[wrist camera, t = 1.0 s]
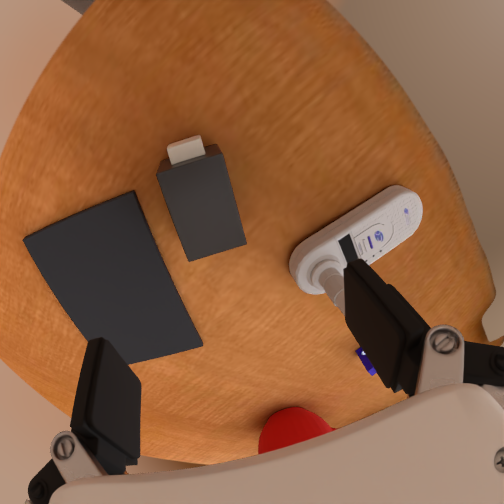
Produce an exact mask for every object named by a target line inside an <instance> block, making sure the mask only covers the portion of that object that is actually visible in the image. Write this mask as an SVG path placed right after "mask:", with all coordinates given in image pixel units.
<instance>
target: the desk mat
mask: <svg viewBox="0 0 504 504" xmlns="http://www.w3.org/2000/svg"><path fill="white" fill-rule="evenodd" d="M23 242H24V244H25V246H26V247H27V249H28V251H29V253H30V255H31V257H32V258H33V260H34V262H35V264H36V265H37V267H38V269H39V271H40V272H41V274H42V276H43V277H44V279H45V280H46V282H47V284H48V285H49V287H50V288H51V290H52V292H53V293H54V295H55V296H56V298H57V299H58V301H59V302H60V304H61V305H62V307H63V308H64V310H65V311H66V312H67V314H68V315H69V317H70V318H71V320H72V321H73V322H74V324H75V325H76V326H77V328H78V329H79V331H80V332H81V333H82V335H83V336H84V337H85V338H86V340H87V341H89V340H91V339H95V338H99V337H103V338H104V339H105V340H109V341H110V343H111V344H112V345H113V347H114V348H115V349H116V351H117V352H118V353H119V355H120V356H121V357H122V359H123V360H124V361H125V362H126V364H127V365H129V364H133V363H137V362H142V361H146V360H150V359H155V358H159V357H163V356H167V355H171V354H175V353H179V352H183V351H187V350H190V349H194V348H198V347H201V346H203V342H202V340H201V338H200V336H199V334H198V332H197V330H196V328H195V326H194V324H193V322H192V320H191V318H190V316H189V314H188V312H187V310H186V308H185V306H184V304H183V302H182V300H181V298H180V296H179V294H178V292H177V289H176V287H175V285H174V283H173V281H172V279H171V277H170V274H169V272H168V270H167V268H166V266H165V263H164V261H163V259H162V257H161V254H160V252H159V250H158V247H157V245H156V243H155V240H154V238H153V236H152V233H151V231H150V229H149V226H148V224H147V221H146V219H145V216H144V214H143V211H142V209H141V206H140V204H139V201H138V199H137V196H136V194H135V191H134V190H133V191H131V192H128V193H125V194H123V195H120V196H118V197H115V198H112V199H110V200H107V201H105V202H102V203H100V204H97V205H95V206H93V207H90V208H88V209H85V210H83V211H81V212H78V213H76V214H74V215H71V216H69V217H67V218H65V219H62V220H60V221H58V222H56V223H54V224H51V225H49V226H47V227H45V228H43V229H41V230H39V231H37V232H34V233H32V234H30V235H28V236H26V237H25V238H24V239H23Z"/></svg>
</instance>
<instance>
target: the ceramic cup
mask: <svg viewBox="0 0 504 504" xmlns="http://www.w3.org/2000/svg"><path fill="white" fill-rule="evenodd" d="M334 430H337V429H336V428H330V426H329V425H328V424H327V423H326V422H325V421H324V420H323V419H322V418H321V417H319V416H318V415H316V414H314V413H312V412H310V411H308V410H305V409H303V408H301V407H292V408H287V409H283V410H281V411H278V412H276V413H275V414H273V415H272V416H270V417H269V419H268V421H267V423H266V424H265V426H264V428H263V430H262V432H261V435H260V438H259V445H258V454H262V453H266V452H270V451H274V450H277V449H281V448H284V447H287V446H290V445H294V444H297V443H300V442H303V441H306V440H309V439H312V438H315V437H318V436H321V435H323V434H326V433H329V432H331V431H334Z"/></svg>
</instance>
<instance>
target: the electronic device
mask: <svg viewBox="0 0 504 504" xmlns="http://www.w3.org/2000/svg"><path fill="white" fill-rule="evenodd" d="M422 212H423V209H422V203H421V200H420V198H419V196H418V195H417V194H416V193H415V192H413V191H411V190H409V189H407V188H405V187H403V186H400V185H394V186H390V187H388V188H386V189H385V190H383V191H382V192H380V193H378V194H377V195H375V196H374V197H372V198H371V199H369V200H367V201H366V202H364V203H363V204H361V205H360V206H358V207H356V208H355V209H353V210H352V211H350V212H349V213H347V214H345V215H344V216H342V217H341V218H339V219H337V220H336V221H334V222H333V223H331V224H329V225H328V226H326V227H325V228H323V229H321V230H320V231H318V232H317V233H315V234H314V235H312V236H310V237H309V238H307V239H306V240H304V241H303V242H302V243H300V244H299V245H298V246H297V247H296V248H295V250H294V251H293V253H292V255H291V258H290V261H289V269H290V273H291V275H292V277H293V278H294V280H295V282H296V283H297V285H298V286H299V288H300V289H301V290H303V291H304V292H306V293H309V294H322V293H325V292H326V294H327V295H328V296H329V298H330V299H331V300H332V302H333V303H334V305H335V306H337V307H338V308H339V309H340V310H341V312H342V313H343V314H344V316H345V298H344V275H343V269H344V268H346V267H347V263H349V262H352V261H354V260H357V259H360V258H361V259H363V260H364V261H365V262H366V263H367V264H368V265H370V264H371V263H373V262H374V261H376V260H377V259H379V258H380V257H381V256H383V255H384V254H386V253H387V252H389V251H390V250H392V249H393V248H394V247H396V246H397V245H399V244H400V243H401V242H403V241H404V240H406V239H407V238H408V237H410V236H411V235H412V234H413V233H414V232H415V230H416V229H417V228H418V226H419V224H420V221H421V219H422Z"/></svg>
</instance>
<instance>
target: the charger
mask: <svg viewBox="0 0 504 504" xmlns="http://www.w3.org/2000/svg"><path fill="white" fill-rule="evenodd" d="M167 152H168V155H169V159H166V160H163V161H161V162H160V165H159V168H158V170H157V173H156V176H157V179H158V182H159V185H160V187H161V190H162V193H163V196H164V199H165V201H166V204H167V207H168V210H169V212H170V215H171V218H172V220H173V223H174V226H175V228H176V231H177V234H178V236H179V239H180V241H181V244H182V246H183V249H184V251H185V254H186V256H187V259H188V261H189V262H190V261H194V260H197V259H200V258H203V257H207V256H210V255H213V254H216V253H220V252H223V251H226V250H229V249H233V248H236V247H239V246H242V245H246V244H247V242H246V238H245V235H244V231H243V227H242V223H241V220H240V216H239V212H238V209H237V205H236V201H235V197H234V194H233V190H232V186H231V183H230V179H229V175H228V171H227V168H226V164H225V160H224V157H223V153H222V152H221V150H220V149H219V147H218V146H217V144H214V145H210V146H207V147H203V143H202V140H201V137H200V135H197V136H194V137H191V138H187V139H184V140H181V141H178V142H175V143H172V144H169V145H168V147H167Z"/></svg>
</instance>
